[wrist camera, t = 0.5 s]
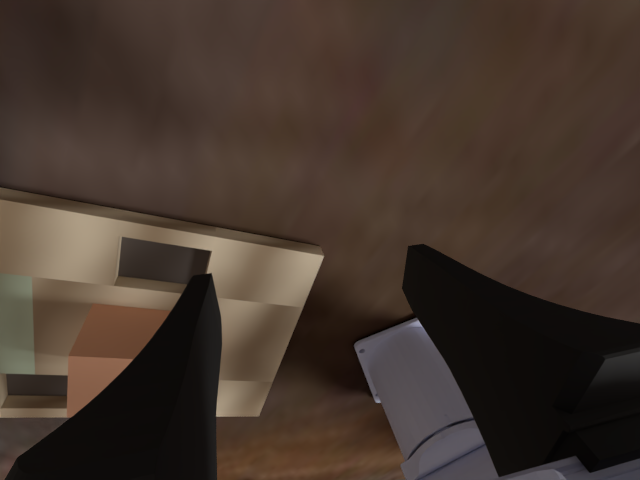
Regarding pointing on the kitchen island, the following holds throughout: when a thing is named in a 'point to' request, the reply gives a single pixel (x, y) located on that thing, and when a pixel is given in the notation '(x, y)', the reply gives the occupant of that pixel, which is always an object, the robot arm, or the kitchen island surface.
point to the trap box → (137, 293)
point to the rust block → (107, 349)
